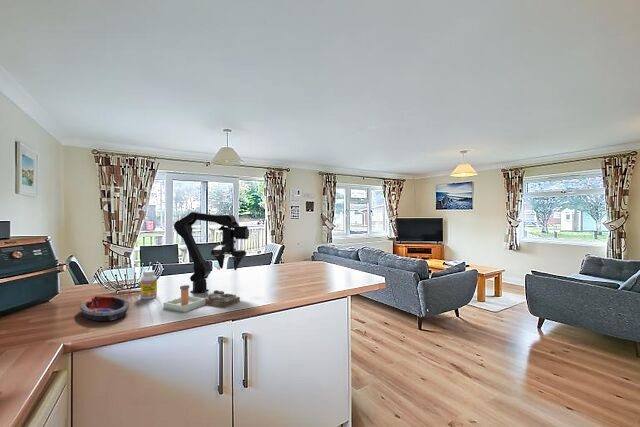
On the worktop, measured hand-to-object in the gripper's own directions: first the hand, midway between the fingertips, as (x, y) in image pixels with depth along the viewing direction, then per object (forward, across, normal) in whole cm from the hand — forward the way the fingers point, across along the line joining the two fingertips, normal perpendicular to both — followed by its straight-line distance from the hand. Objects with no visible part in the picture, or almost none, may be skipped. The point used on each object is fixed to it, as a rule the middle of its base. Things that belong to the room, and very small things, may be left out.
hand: (228, 269), depth 151 cm
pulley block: (+12, +8, -14) cm, 20 cm away
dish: (+12, -25, -45) cm, 53 cm away
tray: (+12, -2, -25) cm, 28 cm away
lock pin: (+11, -2, -25) cm, 27 cm away
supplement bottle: (+12, -29, -23) cm, 39 cm away
